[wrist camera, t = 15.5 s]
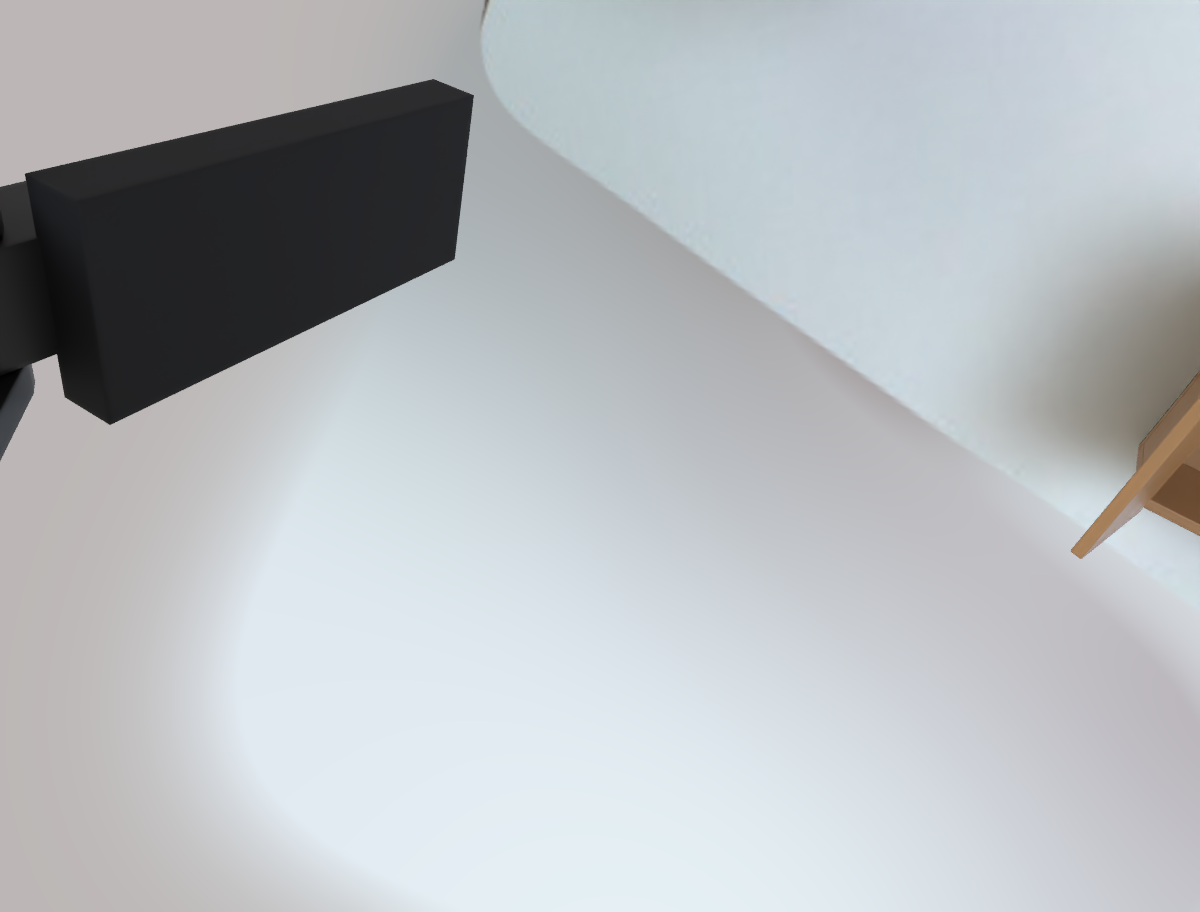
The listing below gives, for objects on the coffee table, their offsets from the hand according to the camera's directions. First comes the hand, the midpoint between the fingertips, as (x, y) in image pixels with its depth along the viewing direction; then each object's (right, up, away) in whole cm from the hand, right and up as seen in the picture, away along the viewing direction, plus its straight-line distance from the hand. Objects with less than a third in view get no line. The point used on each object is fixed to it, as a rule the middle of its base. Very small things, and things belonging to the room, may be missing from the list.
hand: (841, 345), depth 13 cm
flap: (+15, -1, +15) cm, 21 cm away
